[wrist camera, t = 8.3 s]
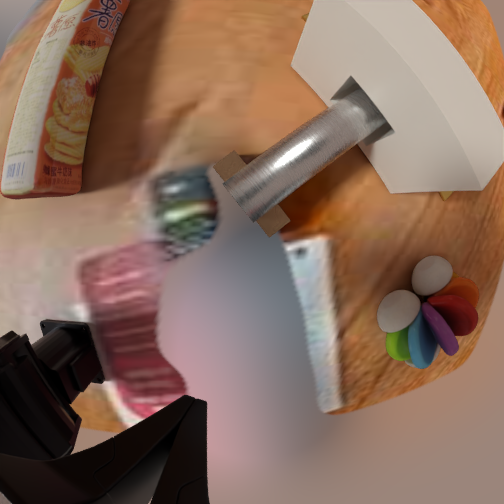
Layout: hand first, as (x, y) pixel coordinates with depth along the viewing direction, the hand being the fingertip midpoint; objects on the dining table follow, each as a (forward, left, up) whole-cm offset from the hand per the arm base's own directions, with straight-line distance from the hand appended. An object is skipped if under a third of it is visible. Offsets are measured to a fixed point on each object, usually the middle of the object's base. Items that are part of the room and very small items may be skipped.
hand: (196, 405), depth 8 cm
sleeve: (+12, +14, -13) cm, 22 cm away
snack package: (-12, +20, -13) cm, 27 cm away
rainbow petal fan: (+17, -3, -13) cm, 22 cm away
